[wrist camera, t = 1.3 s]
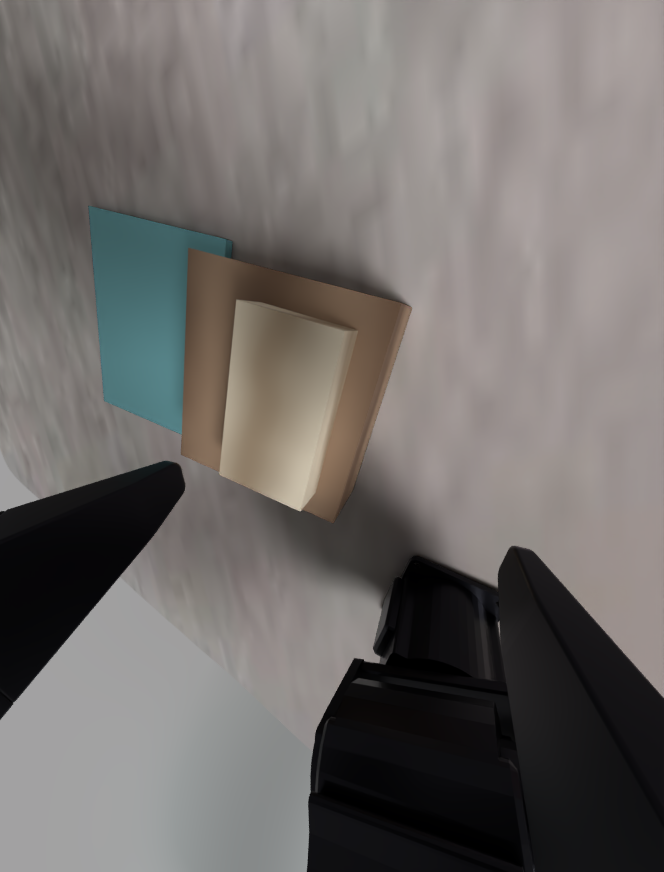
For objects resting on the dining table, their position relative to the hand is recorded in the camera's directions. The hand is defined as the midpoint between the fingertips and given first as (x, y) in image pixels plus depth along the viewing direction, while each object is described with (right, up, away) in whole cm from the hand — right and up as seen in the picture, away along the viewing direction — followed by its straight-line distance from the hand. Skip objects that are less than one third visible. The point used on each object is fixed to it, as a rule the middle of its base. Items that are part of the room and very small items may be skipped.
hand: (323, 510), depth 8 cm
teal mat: (-12, +9, +14) cm, 21 cm away
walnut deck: (-2, +5, +12) cm, 13 cm away
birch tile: (-2, +4, +8) cm, 9 cm away
